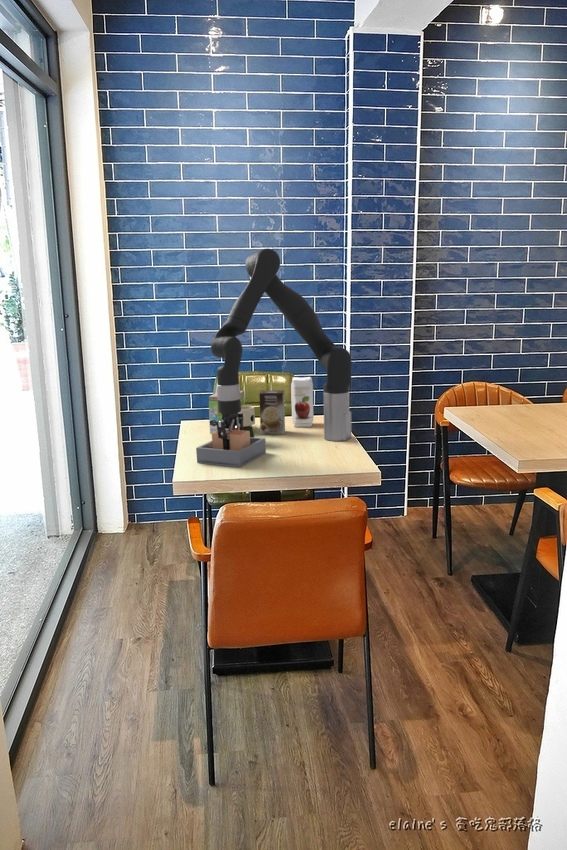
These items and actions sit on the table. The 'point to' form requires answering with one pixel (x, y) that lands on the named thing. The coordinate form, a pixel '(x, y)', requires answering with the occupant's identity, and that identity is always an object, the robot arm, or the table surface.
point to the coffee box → (272, 412)
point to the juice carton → (302, 401)
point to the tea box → (213, 410)
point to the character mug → (248, 418)
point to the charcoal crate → (231, 454)
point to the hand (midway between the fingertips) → (231, 447)
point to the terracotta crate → (232, 440)
